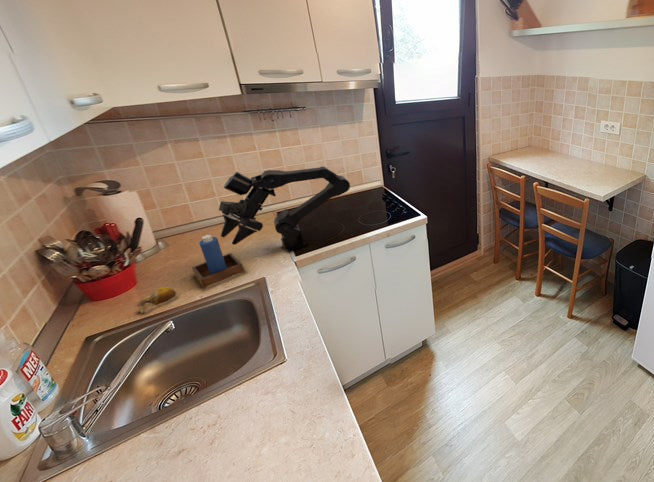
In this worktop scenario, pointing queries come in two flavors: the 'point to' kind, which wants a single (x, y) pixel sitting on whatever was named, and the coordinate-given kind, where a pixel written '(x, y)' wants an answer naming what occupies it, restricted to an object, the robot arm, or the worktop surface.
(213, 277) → the tray
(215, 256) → the bottle
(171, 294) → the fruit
